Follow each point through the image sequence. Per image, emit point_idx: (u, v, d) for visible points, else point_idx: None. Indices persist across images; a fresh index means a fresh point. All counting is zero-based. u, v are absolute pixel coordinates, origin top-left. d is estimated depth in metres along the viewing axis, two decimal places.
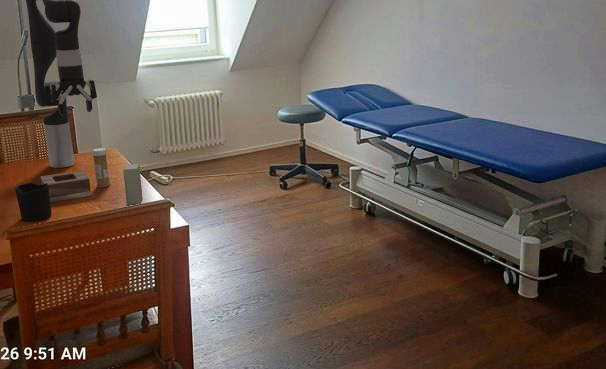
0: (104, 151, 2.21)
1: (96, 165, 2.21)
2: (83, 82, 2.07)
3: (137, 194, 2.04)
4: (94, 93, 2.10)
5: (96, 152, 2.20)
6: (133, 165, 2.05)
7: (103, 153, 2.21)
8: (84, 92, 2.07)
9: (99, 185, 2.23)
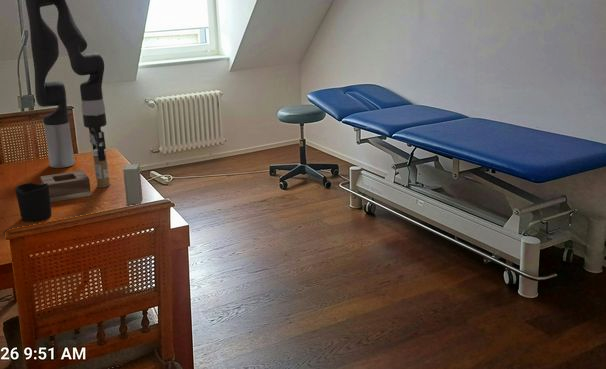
0: (104, 151, 2.21)
1: (96, 165, 2.21)
2: None
3: (137, 194, 2.04)
4: None
5: (96, 152, 2.20)
6: (133, 165, 2.05)
7: None
8: None
9: (99, 185, 2.23)
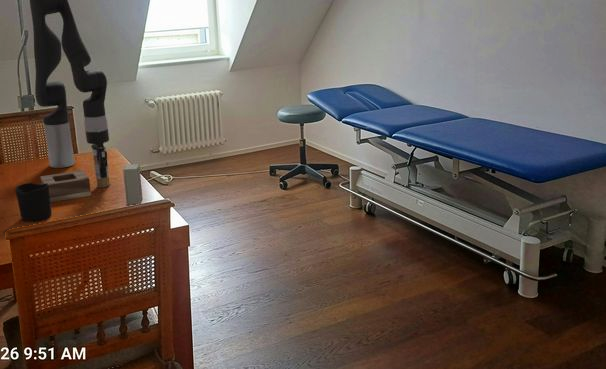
0: None
1: (96, 165, 2.21)
2: None
3: (137, 194, 2.04)
4: None
5: None
6: (133, 165, 2.05)
7: None
8: None
9: (99, 185, 2.23)
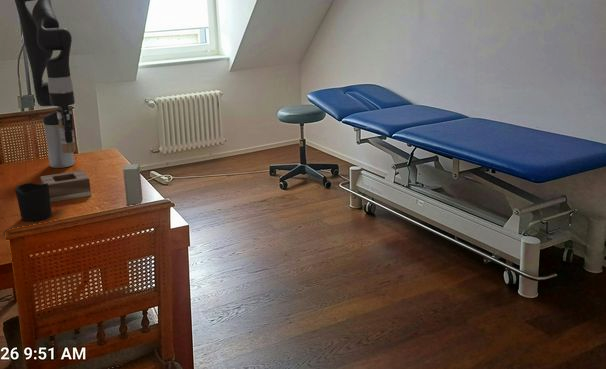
0: None
1: (61, 129, 2.10)
2: None
3: (137, 194, 2.04)
4: None
5: None
6: (133, 165, 2.05)
7: None
8: None
9: (65, 151, 2.12)
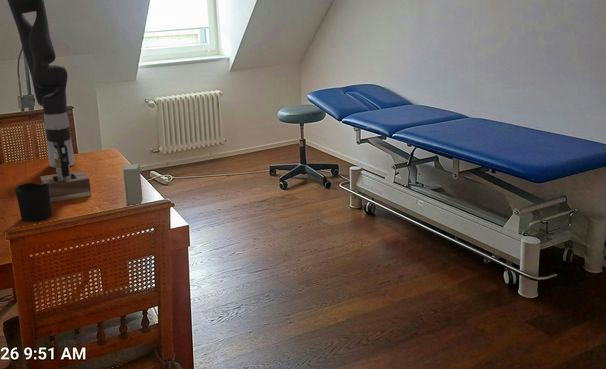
0: None
1: (57, 168, 2.13)
2: None
3: (137, 194, 2.04)
4: None
5: None
6: (133, 165, 2.05)
7: None
8: None
9: None
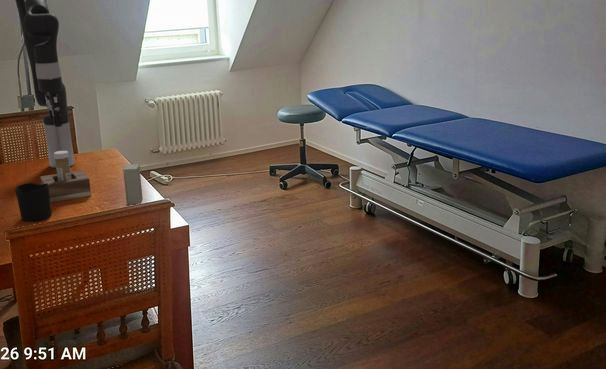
0: (66, 154, 2.12)
1: (58, 168, 2.13)
2: None
3: (137, 194, 2.04)
4: None
5: (57, 155, 2.11)
6: (133, 165, 2.05)
7: (65, 156, 2.12)
8: None
9: None
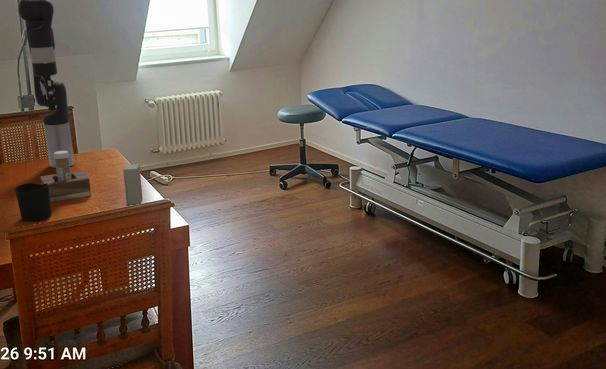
0: (66, 154, 2.12)
1: (58, 168, 2.13)
2: None
3: (137, 194, 2.04)
4: None
5: (57, 155, 2.11)
6: (133, 165, 2.05)
7: (65, 156, 2.12)
8: None
9: None
